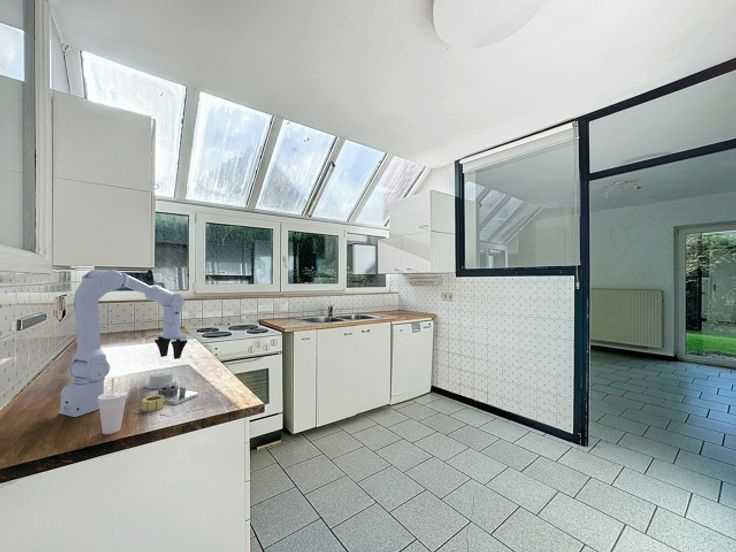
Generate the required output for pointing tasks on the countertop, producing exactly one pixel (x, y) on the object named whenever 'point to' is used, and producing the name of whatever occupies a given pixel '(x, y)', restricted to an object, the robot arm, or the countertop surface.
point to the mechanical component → (160, 380)
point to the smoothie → (112, 409)
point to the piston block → (175, 394)
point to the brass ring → (153, 403)
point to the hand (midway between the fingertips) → (170, 357)
